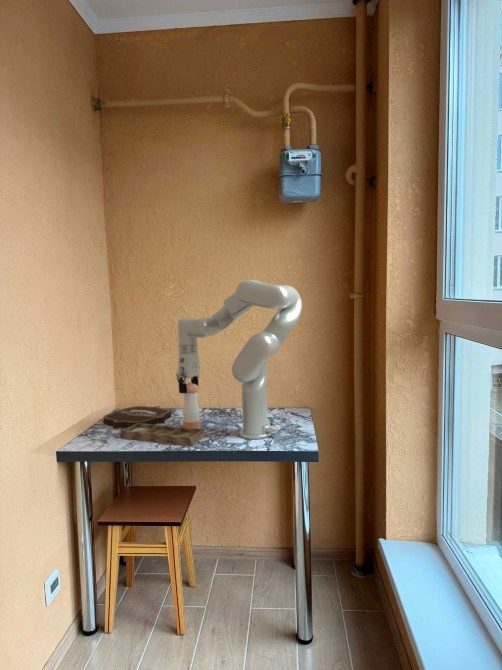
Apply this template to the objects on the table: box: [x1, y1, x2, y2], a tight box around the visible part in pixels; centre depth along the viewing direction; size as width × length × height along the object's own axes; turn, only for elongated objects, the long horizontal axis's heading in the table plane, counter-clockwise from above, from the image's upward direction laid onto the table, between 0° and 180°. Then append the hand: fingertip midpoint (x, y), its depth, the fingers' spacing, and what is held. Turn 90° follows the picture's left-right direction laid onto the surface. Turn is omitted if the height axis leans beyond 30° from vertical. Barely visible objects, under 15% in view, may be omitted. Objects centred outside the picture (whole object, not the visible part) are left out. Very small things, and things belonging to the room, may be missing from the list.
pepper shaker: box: [182, 381, 202, 429], centre depth 189 cm, size 7×7×19 cm
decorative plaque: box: [103, 405, 172, 430], centre depth 206 cm, size 30×3×30 cm
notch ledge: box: [119, 423, 206, 447], centre depth 179 cm, size 31×11×3 cm, turn 68°
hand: (189, 390), depth 189 cm, fingers open, 9 cm apart
